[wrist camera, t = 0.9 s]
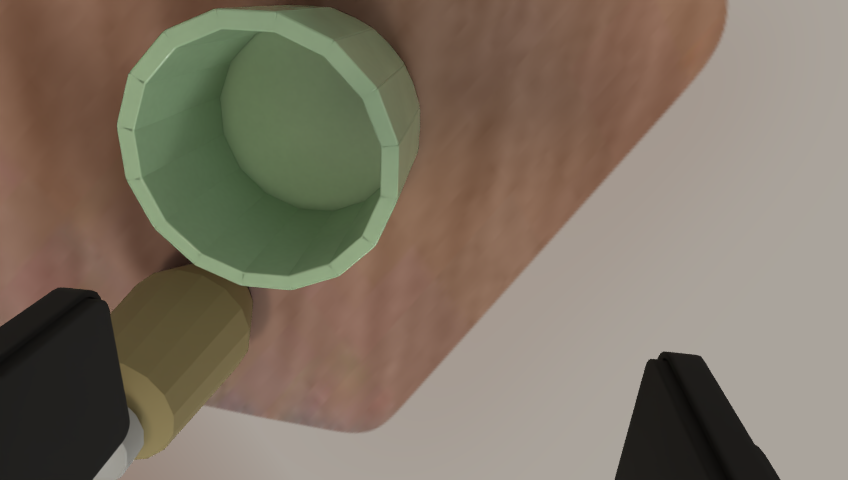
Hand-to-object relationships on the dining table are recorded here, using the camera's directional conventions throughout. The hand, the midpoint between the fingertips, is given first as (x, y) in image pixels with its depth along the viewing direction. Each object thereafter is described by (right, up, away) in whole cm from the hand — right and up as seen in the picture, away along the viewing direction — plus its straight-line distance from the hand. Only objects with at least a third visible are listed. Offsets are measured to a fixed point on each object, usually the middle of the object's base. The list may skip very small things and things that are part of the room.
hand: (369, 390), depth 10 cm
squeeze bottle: (-14, -1, +30) cm, 33 cm away
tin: (-6, +10, +24) cm, 26 cm away
